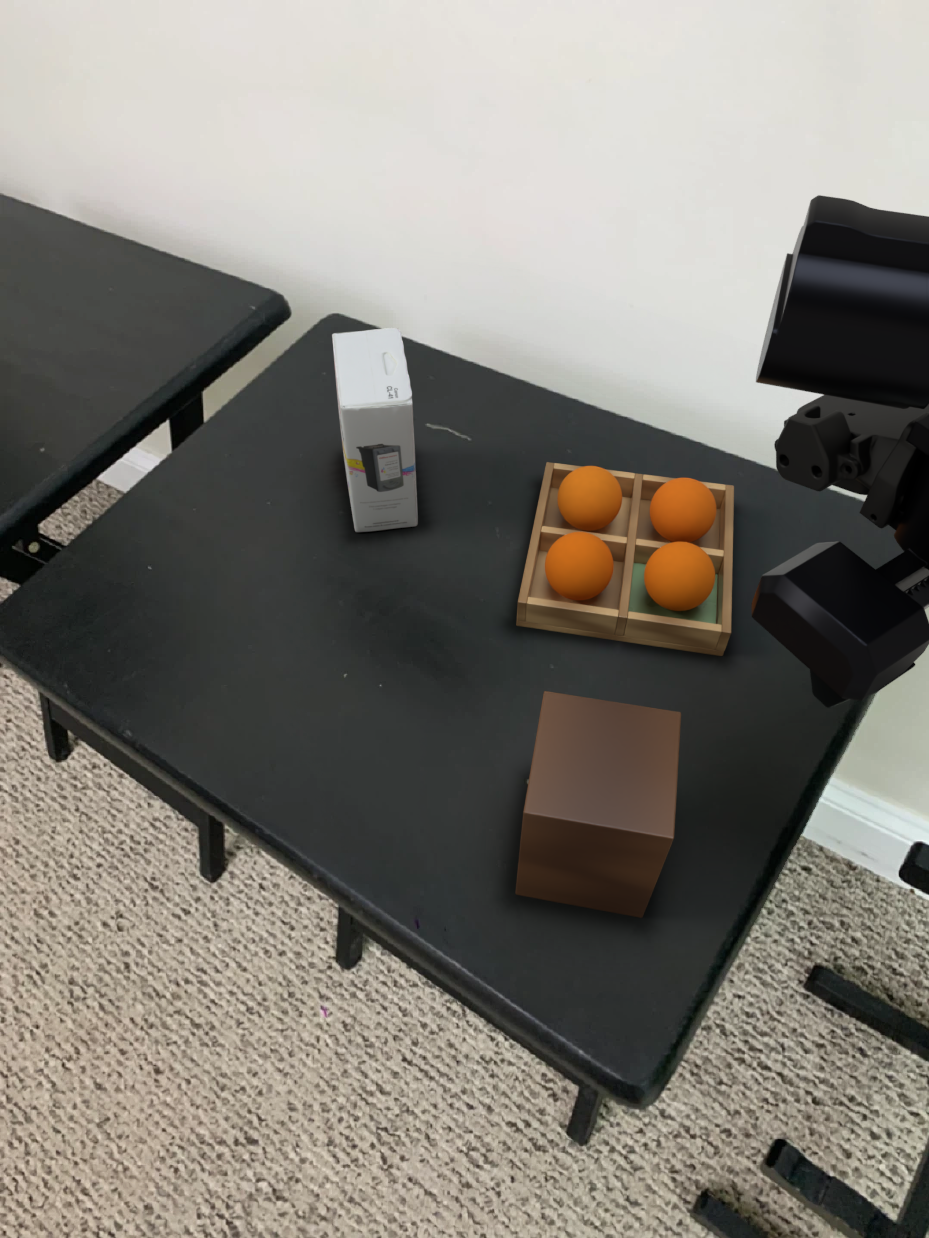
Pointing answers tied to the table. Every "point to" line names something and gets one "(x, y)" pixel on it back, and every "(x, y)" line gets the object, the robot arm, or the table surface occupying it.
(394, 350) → the ink box
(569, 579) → the clementine
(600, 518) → the clementine
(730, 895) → the table surface
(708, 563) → the clementine
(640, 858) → the brown wooden block
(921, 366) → the robot arm
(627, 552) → the fruit rack
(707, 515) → the clementine
